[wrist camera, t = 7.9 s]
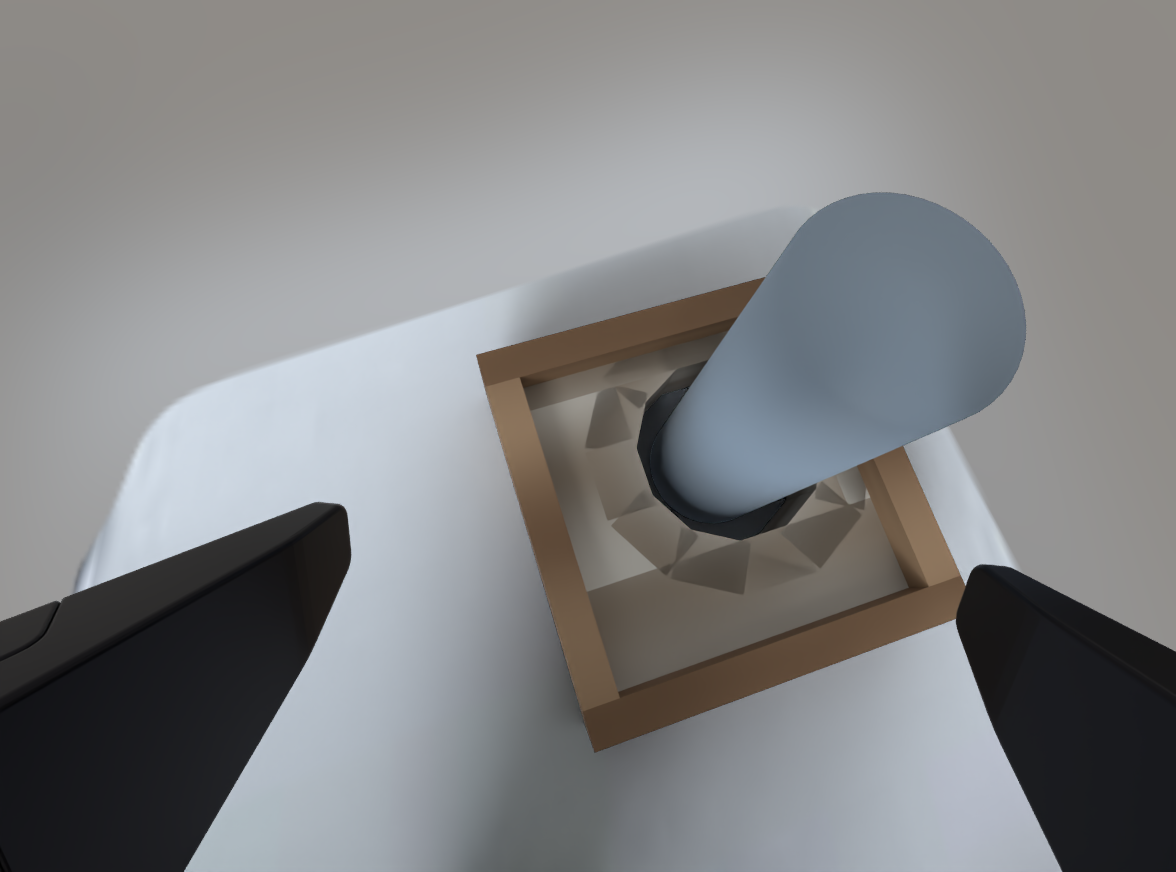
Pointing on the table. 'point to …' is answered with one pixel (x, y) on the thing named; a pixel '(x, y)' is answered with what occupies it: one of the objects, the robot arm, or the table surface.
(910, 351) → the peg
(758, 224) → the table surface
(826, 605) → the walnut box
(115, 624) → the robot arm
